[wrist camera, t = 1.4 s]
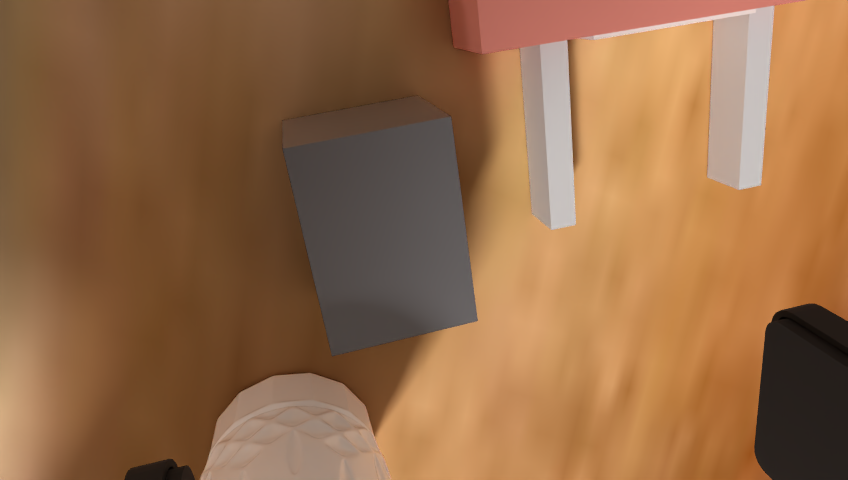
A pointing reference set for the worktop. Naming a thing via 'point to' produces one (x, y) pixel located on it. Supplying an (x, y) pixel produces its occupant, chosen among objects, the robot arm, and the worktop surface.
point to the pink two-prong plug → (608, 17)
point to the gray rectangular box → (381, 220)
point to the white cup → (295, 434)
